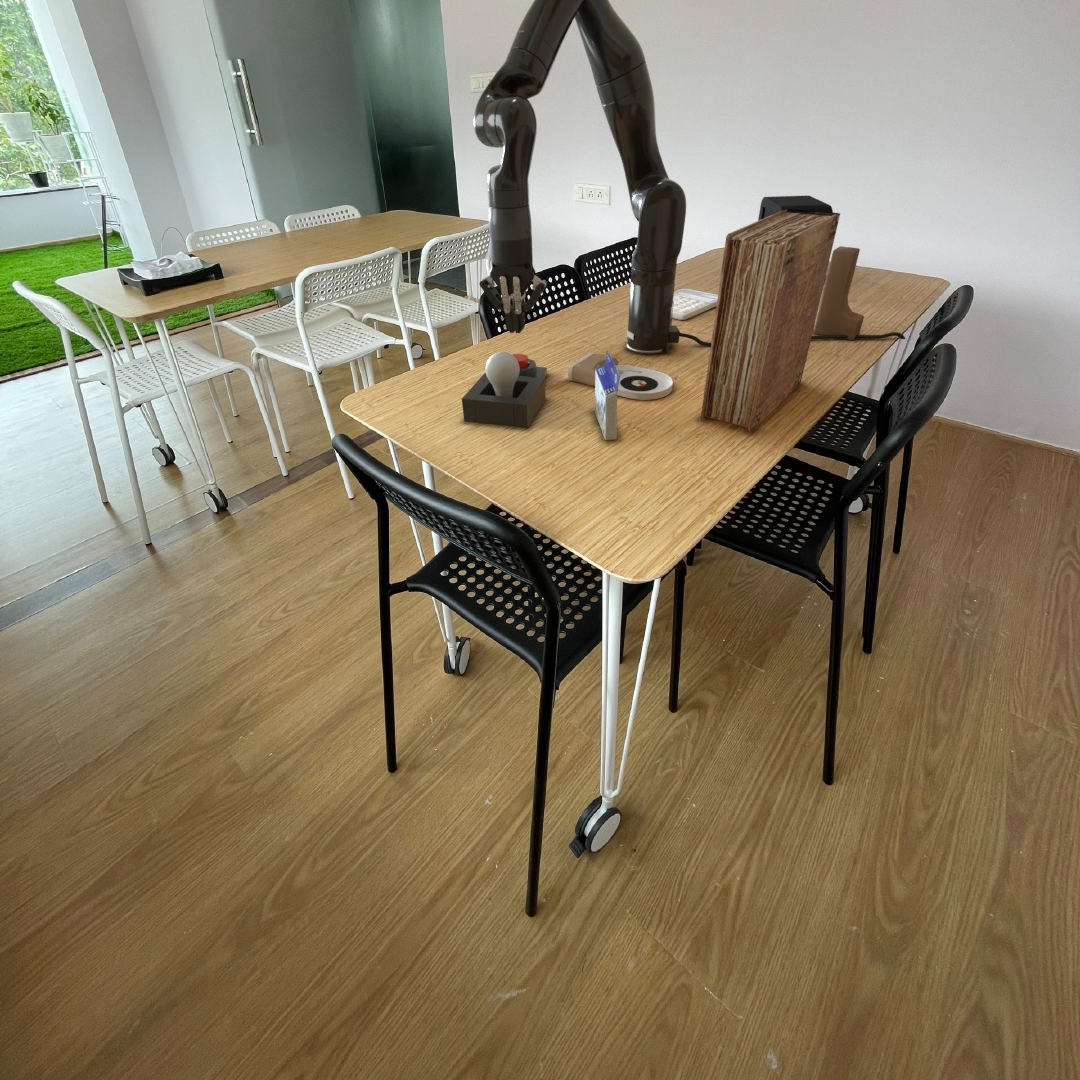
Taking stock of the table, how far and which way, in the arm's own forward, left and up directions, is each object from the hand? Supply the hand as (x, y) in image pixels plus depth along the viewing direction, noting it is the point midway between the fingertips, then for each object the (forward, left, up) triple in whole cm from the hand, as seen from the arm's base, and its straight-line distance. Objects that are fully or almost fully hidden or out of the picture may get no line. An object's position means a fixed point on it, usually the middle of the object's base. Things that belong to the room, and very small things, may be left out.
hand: (515, 331), depth 120 cm
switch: (0, 0, -10) cm, 10 cm away
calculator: (-28, -56, -10) cm, 63 cm away
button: (0, 0, -7) cm, 7 cm away
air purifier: (-54, -91, -10) cm, 106 cm away
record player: (-21, -3, -10) cm, 24 cm away
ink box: (-21, +16, -10) cm, 28 cm away
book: (-46, 0, -10) cm, 47 cm away
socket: (-2, +14, -10) cm, 17 cm away
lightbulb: (-2, +14, -10) cm, 17 cm away
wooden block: (-64, -41, -10) cm, 77 cm away
